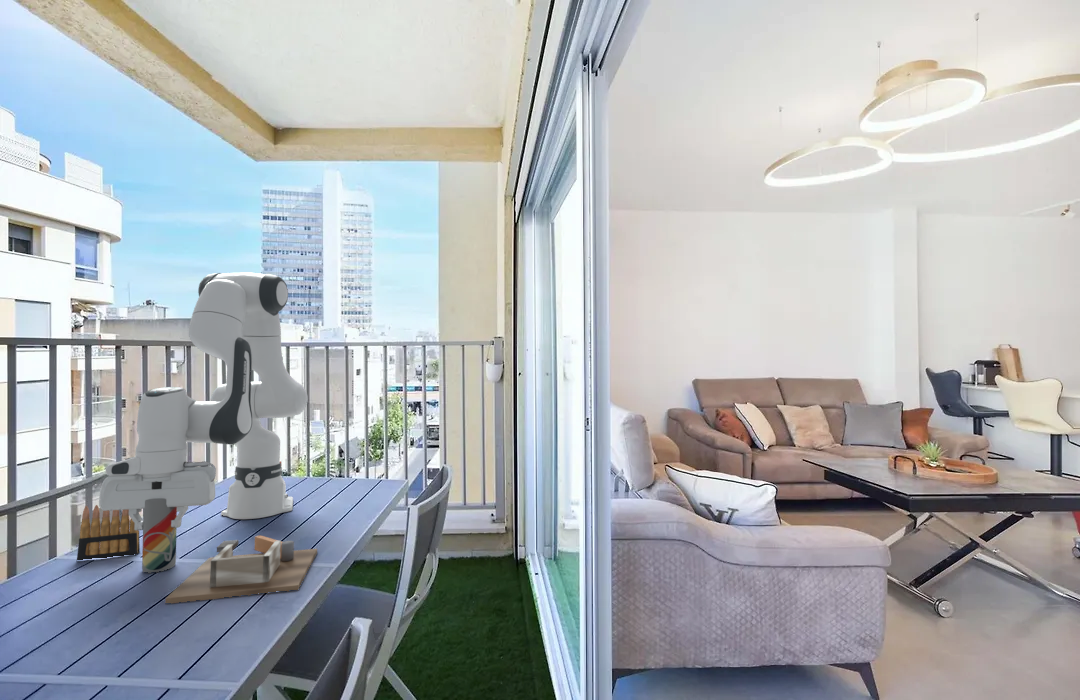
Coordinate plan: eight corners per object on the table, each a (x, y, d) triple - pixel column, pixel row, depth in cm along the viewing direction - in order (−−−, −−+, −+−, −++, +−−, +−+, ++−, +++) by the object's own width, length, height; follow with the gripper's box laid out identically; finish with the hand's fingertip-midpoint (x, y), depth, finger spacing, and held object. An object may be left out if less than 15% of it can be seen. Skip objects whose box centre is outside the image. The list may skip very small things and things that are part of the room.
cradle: (209, 562, 107) (210, 534, 108) (317, 552, 113) (317, 526, 113) (165, 604, 88) (166, 570, 88) (298, 590, 94) (299, 558, 94)
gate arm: (296, 558, 106) (296, 541, 107) (285, 561, 104) (285, 545, 105) (262, 547, 113) (262, 532, 113) (251, 550, 111) (252, 535, 111)
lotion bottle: (157, 574, 101) (159, 477, 101) (134, 572, 102) (136, 476, 103) (182, 563, 106) (184, 471, 107) (161, 561, 107) (162, 470, 108)
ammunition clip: (139, 552, 113) (141, 500, 114) (136, 555, 111) (139, 502, 112) (80, 559, 109) (82, 505, 109) (76, 562, 107) (78, 507, 108)
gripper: (221, 458, 110) (219, 520, 110) (114, 462, 105) (110, 527, 104) (210, 463, 104) (207, 529, 104) (96, 467, 99) (92, 536, 98)
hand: (158, 528), depth 104 cm, fingers open, 5 cm apart
